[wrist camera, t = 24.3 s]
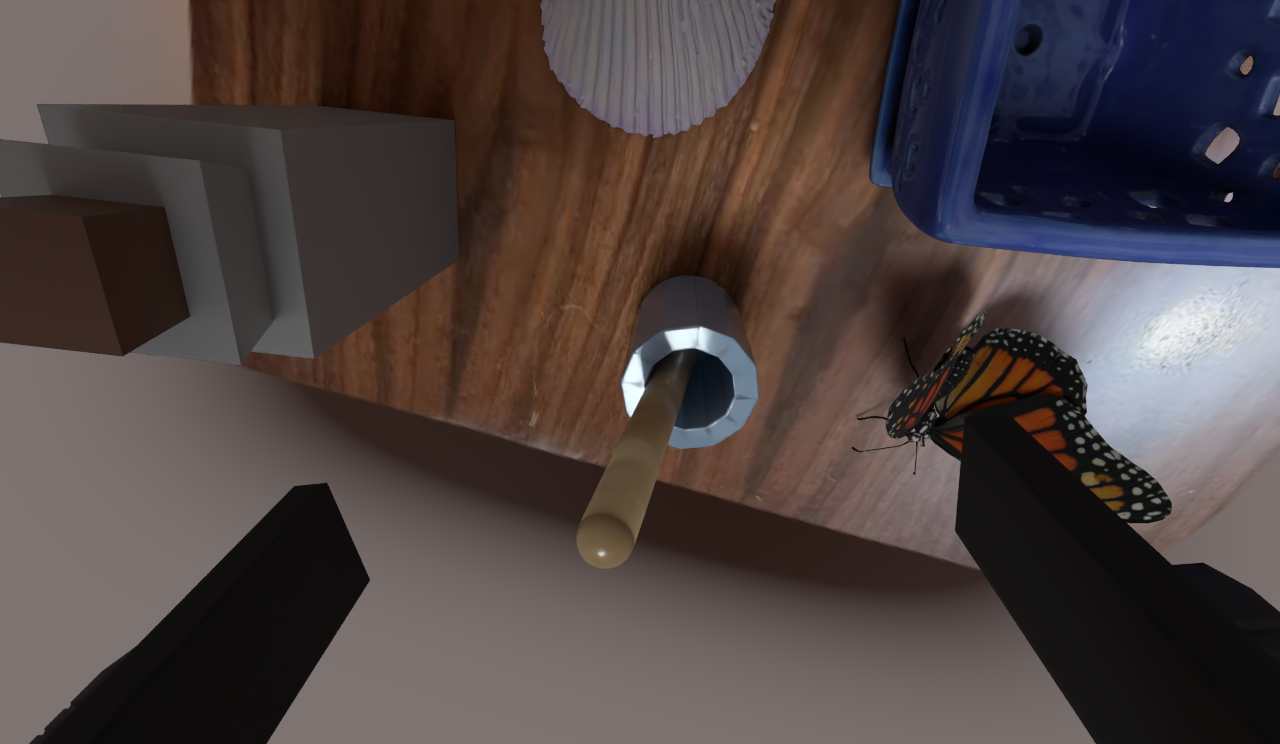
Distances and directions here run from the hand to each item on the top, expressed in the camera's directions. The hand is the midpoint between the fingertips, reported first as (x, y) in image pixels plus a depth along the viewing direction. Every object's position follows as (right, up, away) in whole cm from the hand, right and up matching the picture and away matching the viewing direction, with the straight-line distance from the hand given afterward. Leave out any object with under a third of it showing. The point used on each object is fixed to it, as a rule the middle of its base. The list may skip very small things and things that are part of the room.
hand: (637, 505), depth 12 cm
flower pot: (+16, +17, +14) cm, 27 cm away
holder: (+3, +5, +19) cm, 20 cm away
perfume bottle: (-12, +12, +18) cm, 25 cm away
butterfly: (+15, +3, +20) cm, 25 cm away
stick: (+3, +5, +19) cm, 19 cm away
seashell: (+1, +19, +14) cm, 23 cm away
